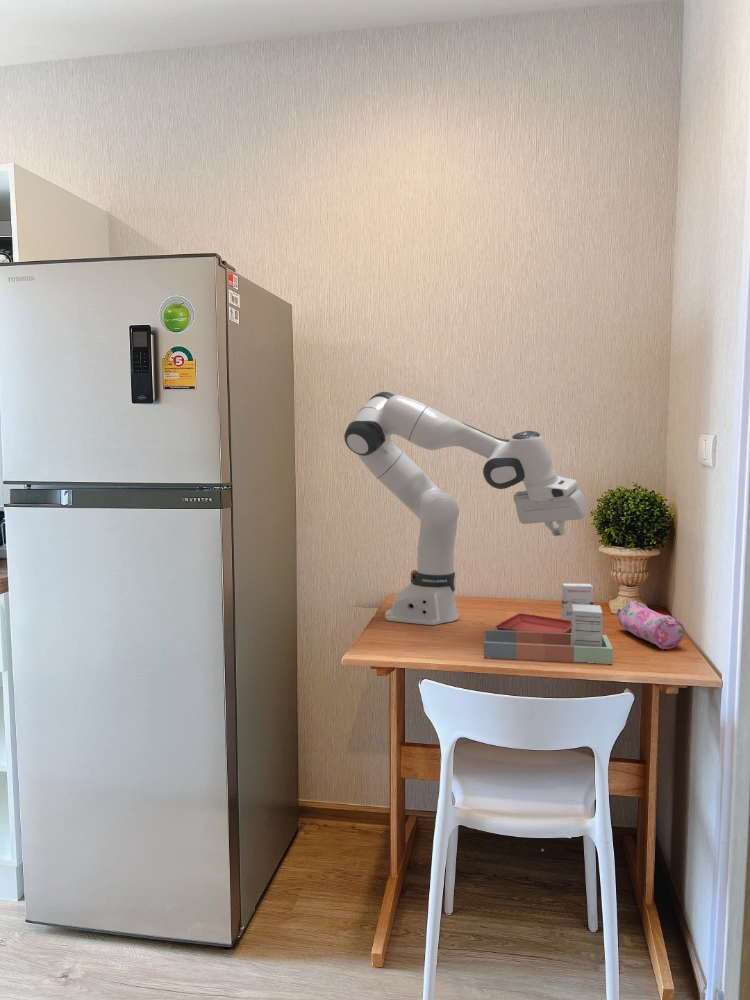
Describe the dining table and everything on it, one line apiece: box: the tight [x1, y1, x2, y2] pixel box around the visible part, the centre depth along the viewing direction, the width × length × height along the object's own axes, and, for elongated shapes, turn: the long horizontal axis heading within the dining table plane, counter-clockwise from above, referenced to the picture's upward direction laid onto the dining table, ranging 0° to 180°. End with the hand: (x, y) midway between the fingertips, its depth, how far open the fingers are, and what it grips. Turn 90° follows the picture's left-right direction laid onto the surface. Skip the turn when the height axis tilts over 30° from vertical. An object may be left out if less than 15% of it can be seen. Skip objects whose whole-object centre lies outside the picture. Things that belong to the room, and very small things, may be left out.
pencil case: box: [615, 600, 686, 650], centre depth 204 cm, size 21×9×9 cm, turn 9°
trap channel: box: [483, 629, 614, 664], centre depth 192 cm, size 31×12×4 cm, turn 80°
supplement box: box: [570, 604, 604, 647], centre depth 189 cm, size 7×7×13 cm
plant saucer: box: [495, 612, 571, 633], centre depth 210 cm, size 18×18×3 cm
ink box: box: [561, 582, 595, 621], centre depth 221 cm, size 8×5×12 cm, turn 84°
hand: (559, 534), depth 203 cm, fingers closed
